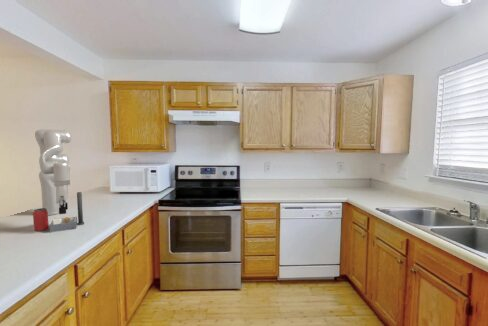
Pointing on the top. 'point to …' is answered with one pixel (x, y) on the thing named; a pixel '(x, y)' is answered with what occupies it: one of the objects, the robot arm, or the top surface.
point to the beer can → (40, 219)
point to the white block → (57, 220)
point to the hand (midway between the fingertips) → (63, 211)
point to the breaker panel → (64, 224)
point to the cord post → (80, 208)
